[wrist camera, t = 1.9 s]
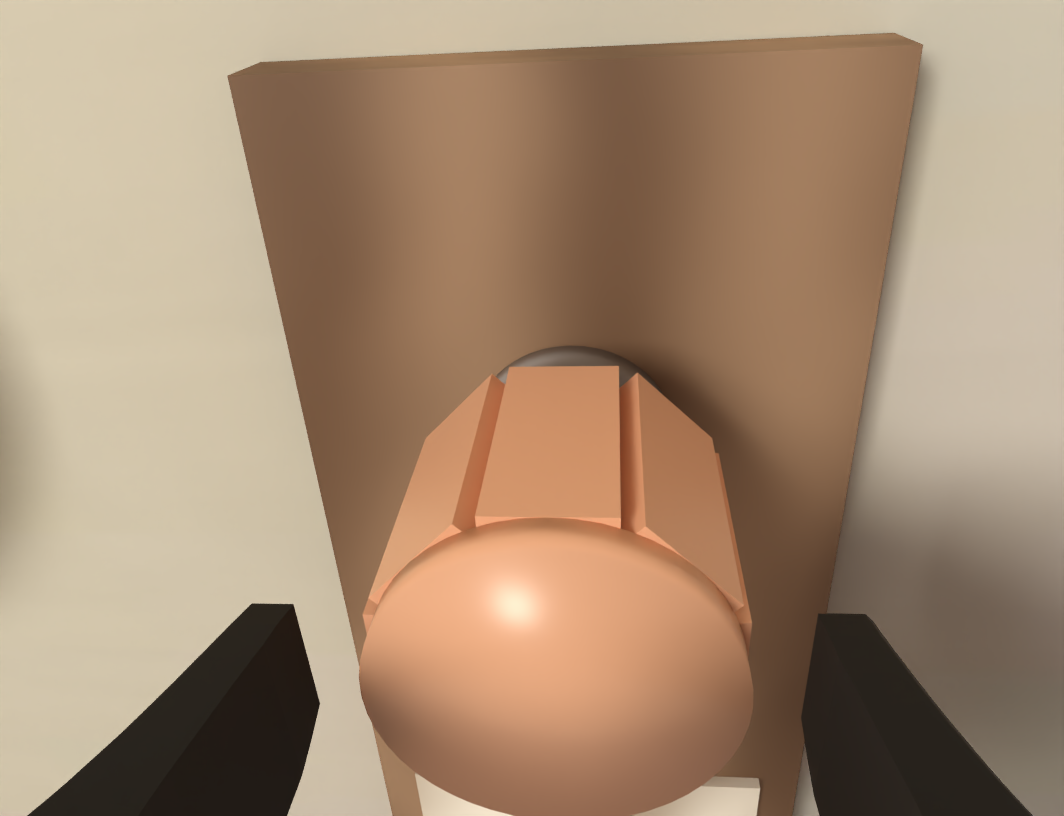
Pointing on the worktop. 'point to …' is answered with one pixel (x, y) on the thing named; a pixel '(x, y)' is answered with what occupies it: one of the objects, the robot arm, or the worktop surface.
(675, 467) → the cap
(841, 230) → the board
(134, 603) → the worktop surface
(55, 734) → the worktop surface
